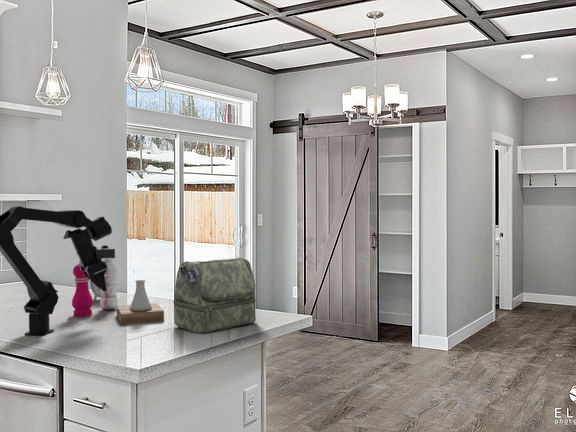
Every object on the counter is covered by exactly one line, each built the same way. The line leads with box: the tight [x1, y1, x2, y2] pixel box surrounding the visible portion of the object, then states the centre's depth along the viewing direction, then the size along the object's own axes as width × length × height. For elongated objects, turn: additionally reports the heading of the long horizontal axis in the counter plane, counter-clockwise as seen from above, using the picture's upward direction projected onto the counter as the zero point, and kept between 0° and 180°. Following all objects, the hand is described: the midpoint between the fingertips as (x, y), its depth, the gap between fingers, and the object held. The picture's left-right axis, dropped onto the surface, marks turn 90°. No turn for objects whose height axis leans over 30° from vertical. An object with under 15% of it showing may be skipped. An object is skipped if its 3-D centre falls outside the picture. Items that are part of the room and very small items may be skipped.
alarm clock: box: [89, 279, 101, 300], centre depth 253 cm, size 12×7×15 cm, turn 49°
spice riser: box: [116, 302, 165, 325], centre depth 213 cm, size 16×14×4 cm
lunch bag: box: [173, 257, 257, 334], centre depth 200 cm, size 26×18×22 cm
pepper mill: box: [71, 260, 94, 318], centre depth 220 cm, size 7×7×20 cm
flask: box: [130, 279, 152, 311], centre depth 211 cm, size 7×7×10 cm
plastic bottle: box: [99, 258, 119, 311], centre depth 230 cm, size 6×7×20 cm
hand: (102, 289), depth 205 cm, fingers open, 9 cm apart
